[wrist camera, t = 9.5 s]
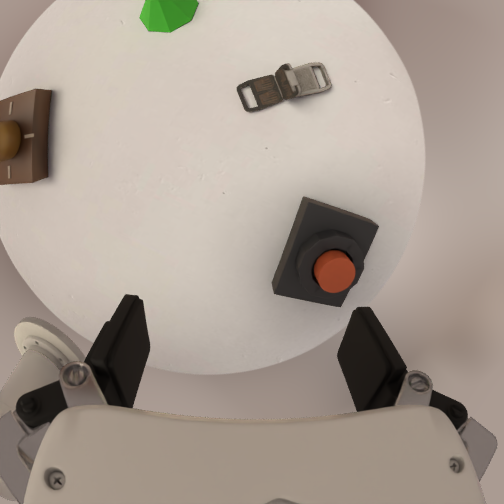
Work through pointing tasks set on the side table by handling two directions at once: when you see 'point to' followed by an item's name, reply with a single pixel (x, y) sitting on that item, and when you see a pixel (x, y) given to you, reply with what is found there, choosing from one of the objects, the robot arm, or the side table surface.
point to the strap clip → (284, 85)
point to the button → (334, 271)
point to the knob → (9, 139)
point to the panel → (27, 136)
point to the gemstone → (167, 14)
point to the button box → (321, 250)
